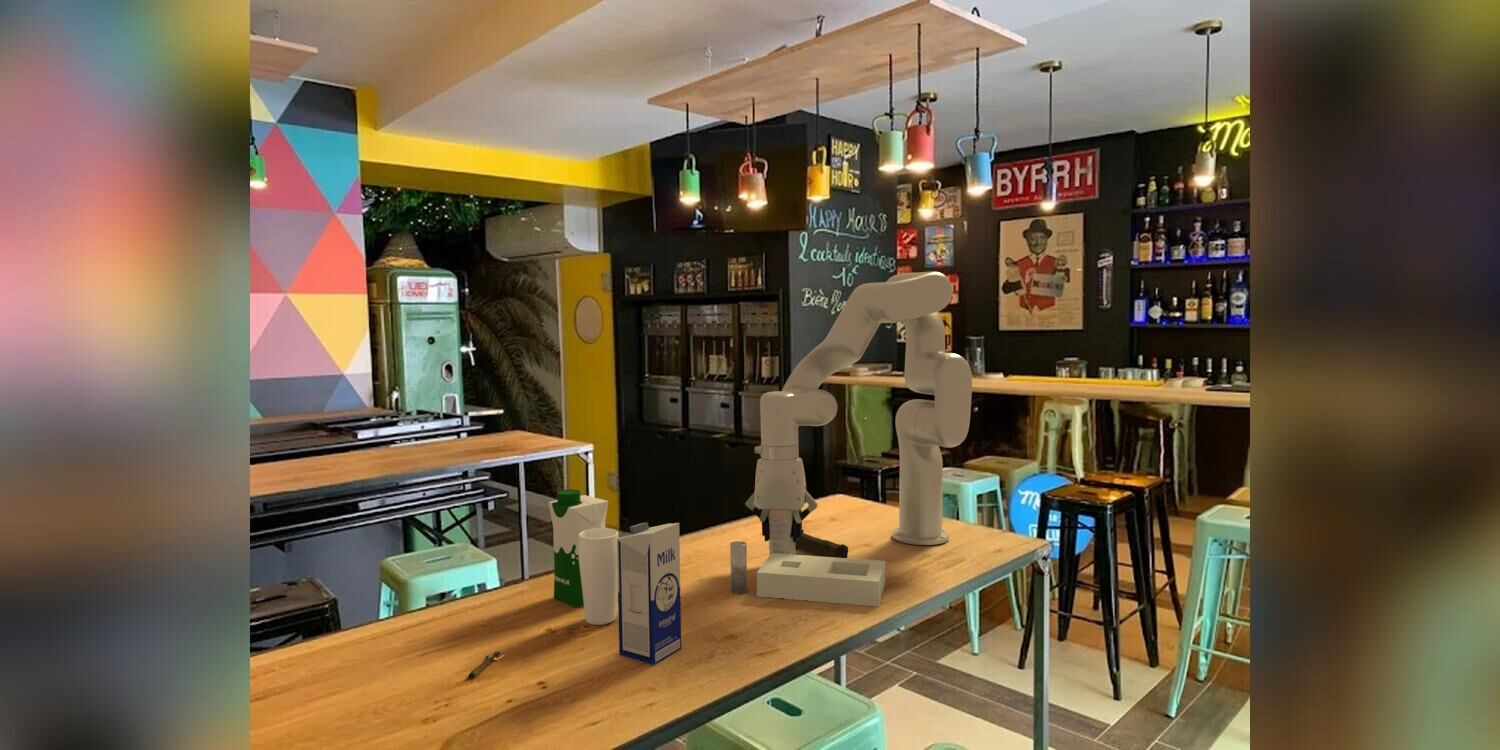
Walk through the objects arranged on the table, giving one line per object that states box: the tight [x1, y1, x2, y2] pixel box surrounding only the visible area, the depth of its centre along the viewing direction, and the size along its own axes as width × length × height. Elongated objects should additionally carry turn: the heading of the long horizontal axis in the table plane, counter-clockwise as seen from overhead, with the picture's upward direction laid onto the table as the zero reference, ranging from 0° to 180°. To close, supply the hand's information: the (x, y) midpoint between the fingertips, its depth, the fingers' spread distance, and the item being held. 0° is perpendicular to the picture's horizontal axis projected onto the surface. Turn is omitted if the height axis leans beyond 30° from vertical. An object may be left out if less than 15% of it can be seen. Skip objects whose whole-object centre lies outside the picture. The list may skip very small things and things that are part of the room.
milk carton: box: [616, 521, 682, 666], centre depth 122 cm, size 7×7×20 cm
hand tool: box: [795, 529, 849, 558], centre depth 173 cm, size 19×4×5 cm, turn 36°
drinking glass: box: [578, 527, 620, 626], centre depth 135 cm, size 7×7×15 cm
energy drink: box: [768, 509, 797, 556], centre depth 165 cm, size 5×5×12 cm
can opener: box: [467, 650, 501, 679], centre depth 119 cm, size 9×2×1 cm, turn 165°
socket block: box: [756, 553, 886, 608], centre depth 149 cm, size 12×22×4 cm, turn 75°
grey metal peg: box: [729, 541, 748, 595], centre depth 149 cm, size 3×3×9 cm
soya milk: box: [548, 489, 609, 609], centre depth 146 cm, size 9×9×20 cm
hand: (782, 539), depth 165 cm, fingers closed on energy drink, 5 cm apart
